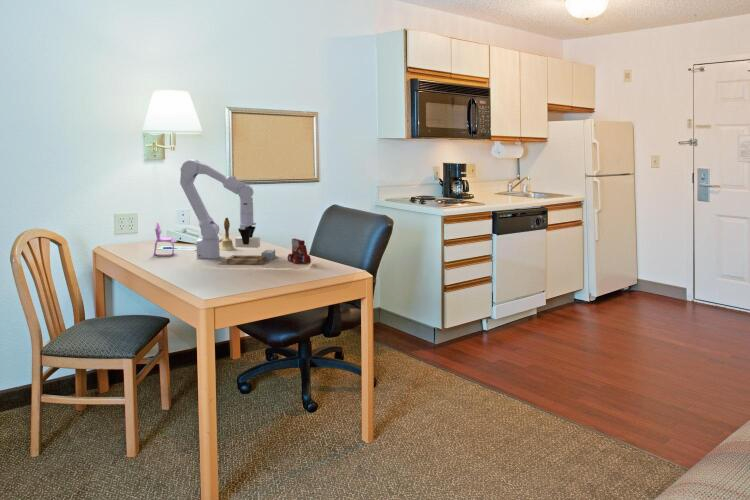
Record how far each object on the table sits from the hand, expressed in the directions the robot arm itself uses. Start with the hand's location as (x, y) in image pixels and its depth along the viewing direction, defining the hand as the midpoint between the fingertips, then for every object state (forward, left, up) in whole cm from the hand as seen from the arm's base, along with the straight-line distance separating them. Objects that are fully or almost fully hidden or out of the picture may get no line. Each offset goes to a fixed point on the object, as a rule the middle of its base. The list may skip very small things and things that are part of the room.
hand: (247, 243), depth 260 cm
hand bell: (-15, +18, -7) cm, 24 cm away
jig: (+2, -8, -7) cm, 11 cm away
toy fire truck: (+25, -10, -7) cm, 28 cm away
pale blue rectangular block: (+10, -3, -6) cm, 12 cm away
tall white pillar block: (0, 0, -2) cm, 2 cm away
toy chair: (-41, +6, -7) cm, 42 cm away
